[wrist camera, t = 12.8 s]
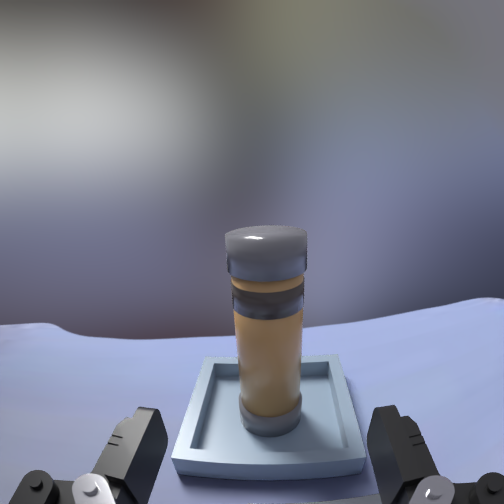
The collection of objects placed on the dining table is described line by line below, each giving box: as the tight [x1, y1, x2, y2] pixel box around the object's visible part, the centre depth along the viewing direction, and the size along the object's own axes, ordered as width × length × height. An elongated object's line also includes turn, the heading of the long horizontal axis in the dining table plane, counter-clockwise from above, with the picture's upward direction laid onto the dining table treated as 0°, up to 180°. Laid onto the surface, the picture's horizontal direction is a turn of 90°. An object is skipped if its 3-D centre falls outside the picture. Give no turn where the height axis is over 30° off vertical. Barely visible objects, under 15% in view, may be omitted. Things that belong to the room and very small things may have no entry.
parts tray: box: [171, 354, 366, 480], centre depth 22 cm, size 12×12×2 cm
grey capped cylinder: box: [225, 225, 307, 437], centre depth 20 cm, size 5×5×14 cm
